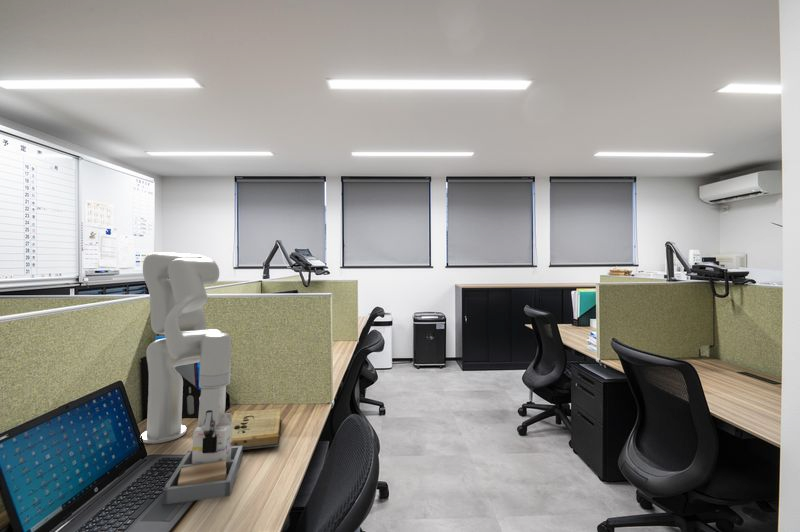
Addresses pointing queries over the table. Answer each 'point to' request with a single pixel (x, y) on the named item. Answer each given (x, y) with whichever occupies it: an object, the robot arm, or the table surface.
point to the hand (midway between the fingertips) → (212, 445)
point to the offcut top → (203, 473)
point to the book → (256, 428)
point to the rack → (201, 490)
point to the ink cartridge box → (222, 442)
